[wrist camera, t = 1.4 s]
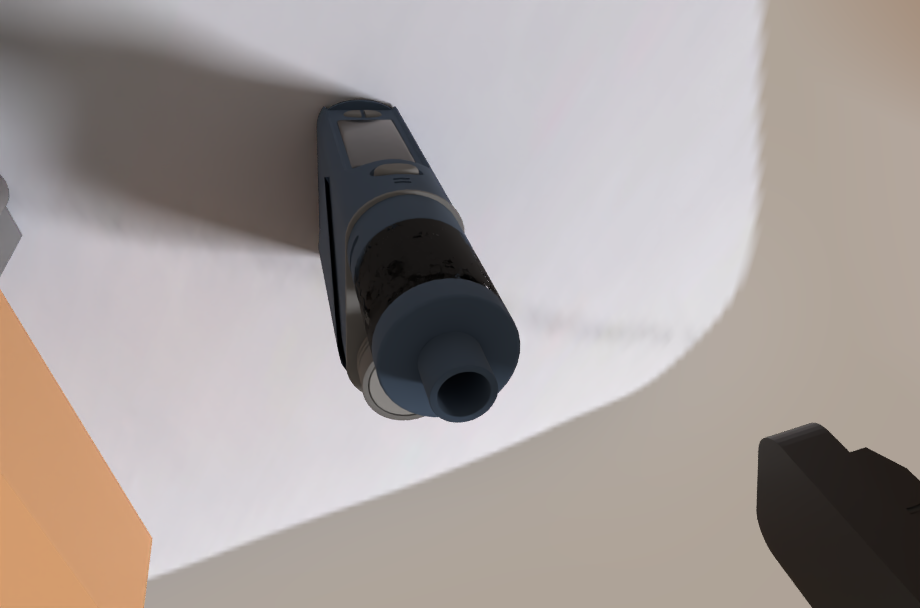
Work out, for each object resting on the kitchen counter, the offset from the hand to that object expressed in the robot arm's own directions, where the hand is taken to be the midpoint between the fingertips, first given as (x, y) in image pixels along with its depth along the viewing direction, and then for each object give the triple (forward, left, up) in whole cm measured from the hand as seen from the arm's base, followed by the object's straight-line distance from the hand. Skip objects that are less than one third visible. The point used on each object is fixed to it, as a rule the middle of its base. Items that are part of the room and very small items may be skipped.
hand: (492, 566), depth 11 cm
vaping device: (0, 0, -14) cm, 14 cm away
